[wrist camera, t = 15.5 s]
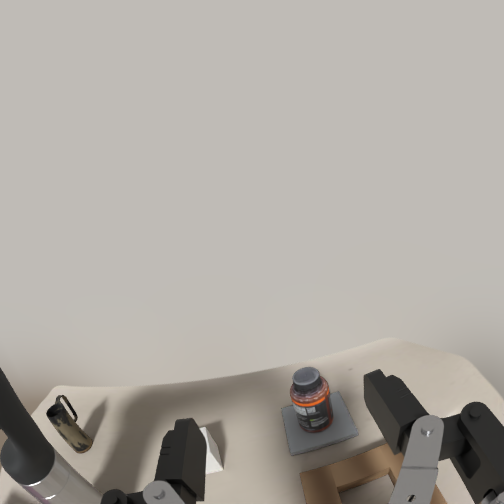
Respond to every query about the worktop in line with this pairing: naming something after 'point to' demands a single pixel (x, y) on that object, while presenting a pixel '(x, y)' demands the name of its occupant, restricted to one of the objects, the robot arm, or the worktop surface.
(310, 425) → the supplement bottle
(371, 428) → the worktop surface
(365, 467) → the socket block
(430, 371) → the worktop surface
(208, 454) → the white cube
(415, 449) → the robot arm
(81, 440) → the mug
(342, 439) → the slate pad
